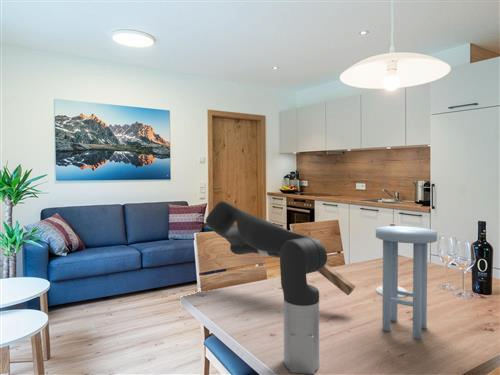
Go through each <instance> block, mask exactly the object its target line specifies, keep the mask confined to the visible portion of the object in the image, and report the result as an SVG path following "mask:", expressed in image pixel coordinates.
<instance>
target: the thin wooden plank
mask: <svg viewBox="0 0 500 375" xmlns="http://www.w3.org/2000/svg"><path fill="white" fill-rule="evenodd" d="M317 273H319V274H320V275H322V276H323V277H324V278H325V279H327V280H328V281H329V282H330V283H332V285H334V286H335V287H336V288H338V289H339V290H340V291H341V292H342V293H344V294H345V295H347V296H349V295H351V294H352V293H353V291H354V289H355V288H356V285H354V284H353V283H352V282H351V281H349V280H348V279H347V278H346V277H344V276H343V275H342V274H341V273H339V271H336V270H335V269H334V268H332V267H331V266H330V265H328V263H326V264H325V265H324V267H323V268H321V269H320V270H318V271H317Z"/></svg>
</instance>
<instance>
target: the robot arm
mask: <svg viewBox="0 0 500 375" xmlns="http://www.w3.org/2000/svg"><path fill="white" fill-rule="evenodd" d="M205 223H206V225H207V227H208V228H209V229H210V230H212V231H213V232H215V233H216V234H217V235H219V236H220V237H222V238H224V239H225V241H227V242H228V243H229V244H230V247H229V249H230V251H231V253H232V254H234V255H246V254H247V255H248V254H257V255H263V256H268V257H273V258H279V269H280V270H279V271H280V284H281V285H280V286H281V290H282V292H283V365H284V366H285V368H287V369H288V370H289V373H291V374H292V373H293V374H310V375H312V374H313V375H314V374H315V371H317V370H318V369H319V368H320V292H319V289H318V287H316V286H314V285H311V284H309V283H308V282H307V274H312V273H315V272H318V270H320V269H321V268H323V267H324V265H325V264H327V262H328V253H327V250H326V248H325V246H324V245H323V243H322V242H320V241H319V240H318V239H317V238H314V237H312V236H308V235H305V234H302V233H296V232H293V231H290V230H288V229H286V228H284V227H282V226H280V225H278V224H274V223H272V222H270V221H268V220H265V219H264V218H261V217H259V216H256V215H254V214H251V213H248V212H245V211H244V210H241V209H240V208H238V207H236V206H234V205H233V204H231V203H229V202H226V201H223V200H222V201H219V202H217V203H216V205H214V207H213V208H212V209H211V211H210V212H209V214H208V215H207V217H206V218H205ZM235 223H236V225H235Z"/></svg>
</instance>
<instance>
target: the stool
mask: <svg viewBox="0 0 500 375" xmlns="http://www.w3.org/2000/svg"><path fill="white" fill-rule="evenodd" d="M375 238H377V239H378V240H382V285H383V295H382V310H381V311H382V316H381V317H382V318H381V319H382V320H381V321H382V322H381V324H382V326H381V327H382V330H383V331H385V332H390V331H391V322H393V323H394V322H398V308H399V307H398V305H402V306H407V307H411V308H412V338H414V339H416V340H421V339H422V329H427V328H428V326H427V324H428V322H427V320H428V319H427V317H428V248H429V247H428V245H429V244H432V243H435V242H437V241H438V231H436V230H435V229H430V228H423V227H416V226H406V225H405V226H402V225H398V226H397V225H395V226H390V225H388V226H379V227H376V228H375ZM400 243H401V244H413V249H412V250H413V251H412V252H413V253H412V256H413V257H412V260H413V261H412V275H413V276H412V291H408V290H407V291H402V290H398V286H399V284H398V282H399V280H398V279H399V273H398V272H399V266H398V265H399V244H400ZM398 294H399V295H404V296H407V297H410V298H412V301H411V300H406V299H403V298H402V299H401V298H398Z"/></svg>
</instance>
